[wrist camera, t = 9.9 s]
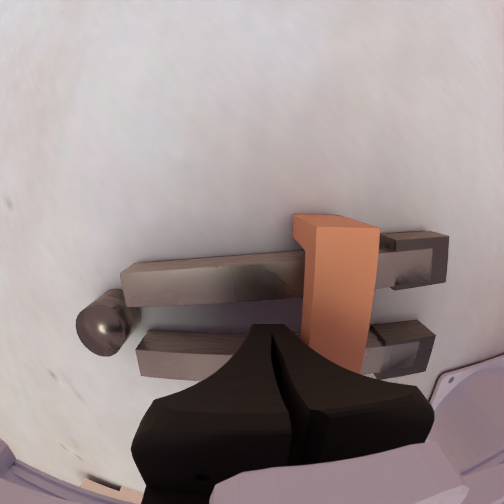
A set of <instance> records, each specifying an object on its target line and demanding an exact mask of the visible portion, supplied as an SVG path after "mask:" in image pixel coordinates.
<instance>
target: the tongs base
mask: <svg viewBox="0 0 504 504" xmlns="http://www.w3.org/2000/svg"><path fill="white" fill-rule="evenodd" d="M140 316H141V314H140V309H139V307H126V302H125V298H124V293H123V290H120V289H111V290H109V291H107V292H105V293H104V294H103V295H102V296H100V297H99V298H98V299H96V300H95V301H94V302H93V303H91V304H90V305H89V306H87V307H86V308H85V309H84V310H82V311H81V312H80V313H79V315H78V316H77V319H76V330H77V334H78V336H79V338H80V340H81V342H82V343H83V344H84V345H85V346H86V348H88V349H89V350H90V351H91V352H93V353H95V354H97V355H100V356H112V355H114V354H116V353H117V352H118V350H119V349H120V348H121V347H122V345H123V344H124V343H125V341H126V340H127V339H128V337H129V336H130V335H131V333H132V332H133V331H134V329H135V328H136V327H137V326H138V324H139V322H140ZM294 334H295V335H296V336H297V337H298V338H299V339H300V338H301V333H294ZM247 335H248V334H216V333H185V332H165V331H149V330H148V332H147V333H146V335H145V336H144V338H143V339H142V341H141V342H140V344H139V345H138V347H137V348H136V355H137V360H138V364H139V369H140V373H141V376H147V377H156V378H166V379H179V380H194V381H203V380H204V379H206V378H207V377H209V376H210V375H212V374H213V373H215V372H216V371H217V370H219V369H220V368H221V367H222V366H223V365H224V364H225V363H226V362H227V361H228V360H229V359H230V358H231V357H232V356H233V355H234V353H235V352H236V351H237V350H238V349H239V347H240V346H241V344H242V343H243V342H244V340H245V338H246V337H247ZM435 337H436V335H435V334H434V333H432V332H431V331H430V330H429V329H428V328H427V327H425V326H424V325H423V324H422V323H421V322H419V321H418V320H414V321H405V322H396V323H386V324H375V325H371V328H369V331H368V336H367V342H366V347H365V352H364V358H363V362H362V367H361V372H360V374H361V375H364V374H371V373H374V375H375V377H376V378H377V380H382V379H388V378H394V377H399V376H404V375H410V374H414V373H419V372H424V371H426V368H427V365H428V361H429V358H430V355H431V351H432V348H433V344H434V340H435Z"/></svg>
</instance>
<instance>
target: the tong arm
mask: <svg viewBox="0 0 504 504" xmlns="http://www.w3.org/2000/svg"><path fill="white" fill-rule="evenodd" d="M448 246H449V236H447V235H443V234H440V233H436V232H432V231H418V232H402V233H387V234H380V245H379V251H378V263H377V273H376V282H375V289H376V288H384V287H390V288H392V289H393V290H400V289H407V288H414V287H420V286H426V285H432V284H438V283H444V282H446V273H447V261H448ZM305 252H306V251H305V250H304V251H291V252H278V253H265V254H252V255H239V256H226V257H213V258H200V259H187V260H174V261H160V262H147V263H134V264H133V265H131V266H130V267H128V268H127V269H125V270H124V271H122V272H121V273H120V277H121V283H122V288H123V293H124V298H125V302H126V307H148V306H176V305H198V304H216V303H232V302H246V301H260V300H272V299H284V298H295V297H303V294H304V275H305Z"/></svg>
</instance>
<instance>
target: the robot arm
mask: <svg viewBox="0 0 504 504" xmlns="http://www.w3.org/2000/svg"><path fill="white" fill-rule="evenodd" d="M131 452H132V456H133V459H134V461H135V464H136V466H137V468H138V470H139V472H140V474H141V476H142V478H143V480H144V482H145V484H146V488H145V492H144V495H143V498H142V502H141V504H504V355H501V356H498V357H495V358H493V359H490V360H487V361H484V362H481V363H478V364H475V365H471V366H468V367H465V368H462V369H458V370H455V371H451V372H447V373H444V374H443V375H441V376H440V378H439V380H438V382H437V385H436V387H435V390H434V393H433V395H432V398H431V400H430V403H429V402H428V400H427V399H426V398H425V396H424V395H423V394H422V392H421V391H420V390H419V389H418V388H417V386H412V385H404V384H397V383H390V382H385V381H381V380H377V379H373V378H370V377H367V376H364V375H361V374H358V373H355V372H353V371H350V370H348V369H346V368H343V367H341V366H339V365H337V364H335V363H334V362H332V361H330V360H328V359H326V358H325V357H323V356H322V355H320V354H319V353H317V352H316V351H314V350H313V349H312V348H310V347H309V346H308V345H307V344H305V343H304V342H303V341H302V340H301V339H299V338H298V337H297V336H296V335H295V334H294V333H293V332H292V331H291V330H290V329H289V328H288V327H287V326H286V325H285V324H254V325H252V326H251V328H250V331H249V333H248V335H247V337H246V338H245V340H244V342H243V343H242V344H241V346H240V347H239V349H238V350H237V351H236V352H235V353H234V355H233V356H232V357H231V358H230V359H229V360H228V361H227V362H226V363H225V364H224V365H223V366H222V367H221V368H220V369H219V370H217V371H216V372H215V373H213V374H212V375H210V376H209V377H207V378H206V379H204V380H203V381H201V382H199V383H197V384H195V385H193V386H191V387H189V388H187V389H185V390H182V391H180V392H177V393H174V394H171V395H168V396H165V397H162V398H159V399H155V400H154V401H153V402H152V404H151V406H150V407H149V409H148V410H147V412H146V413H145V415H144V417H143V418H142V420H141V423H140V425H139V427H138V430H137V432H136V434H135V437H134V439H133V442H132V446H131ZM0 504H135V503H131V502H127V501H123V500H119V499H116V498H112V497H109V496H105V495H102V494H99V493H96V492H93V491H90V490H87V489H84V488H81V487H78V486H76V485H73V484H70V483H68V482H65V481H63V480H60V479H58V478H56V477H53V476H51V475H49V474H47V473H44V472H42V471H40V470H38V469H36V468H34V467H32V466H30V465H28V464H26V463H24V462H22V461H20V460H18V459H16V457H15V455H14V454H13V452H12V450H11V449H10V448H9V446H8V445H7V444H6V443H5V442H4V441H3V440H2V439H0Z"/></svg>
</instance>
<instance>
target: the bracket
mask: <svg viewBox="0 0 504 504" xmlns="http://www.w3.org/2000/svg"><path fill="white" fill-rule="evenodd" d="M80 487H81V488H84V489H87V490H90V491H93V492H96V493H99V494H102V495H105V496H109V497H112V498H116V499H119V500H123V501H127V502H131V503H135V504H141V502H142V498H143V495H144V493H140V492H137V491H134V490H131V489H128V488H125V487H122V486H121V489H120V491H117V490H114V489H111V488H109V487H106V486H103V485H101V484H98V483H96V482H93V481H91V480H89V479H86V478H84V480H83V482H82V484H81V486H80Z"/></svg>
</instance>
